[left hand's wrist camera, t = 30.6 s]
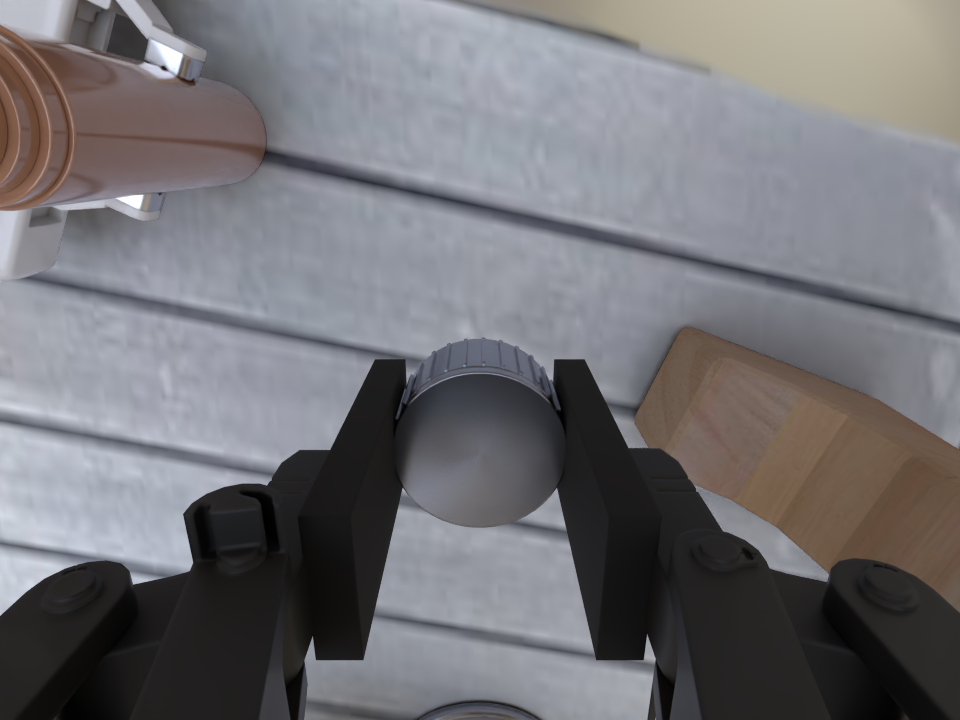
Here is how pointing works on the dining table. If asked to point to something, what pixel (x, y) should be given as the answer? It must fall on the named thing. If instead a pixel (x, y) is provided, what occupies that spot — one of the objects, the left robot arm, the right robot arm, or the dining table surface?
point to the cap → (479, 434)
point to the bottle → (112, 126)
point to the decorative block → (809, 458)
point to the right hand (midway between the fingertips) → (176, 138)
